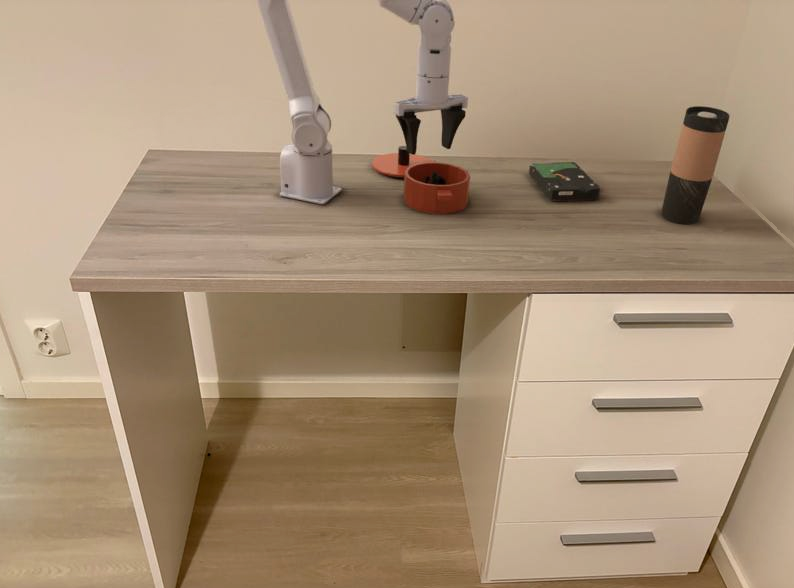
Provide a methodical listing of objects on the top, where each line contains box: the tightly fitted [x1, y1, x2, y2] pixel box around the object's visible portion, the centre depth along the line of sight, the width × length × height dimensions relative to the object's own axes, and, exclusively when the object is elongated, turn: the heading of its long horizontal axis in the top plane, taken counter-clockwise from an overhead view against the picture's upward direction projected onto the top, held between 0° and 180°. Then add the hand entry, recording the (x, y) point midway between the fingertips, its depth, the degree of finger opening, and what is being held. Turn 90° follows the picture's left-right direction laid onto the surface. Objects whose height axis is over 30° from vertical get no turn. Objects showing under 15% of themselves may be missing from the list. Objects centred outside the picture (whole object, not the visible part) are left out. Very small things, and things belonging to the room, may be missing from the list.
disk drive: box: [528, 161, 601, 202], centre depth 148 cm, size 10×3×15 cm
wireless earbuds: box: [425, 172, 446, 185], centre depth 138 cm, size 7×2×5 cm, turn 30°
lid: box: [371, 145, 433, 178], centre depth 152 cm, size 13×13×4 cm
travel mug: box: [660, 105, 730, 225], centre depth 134 cm, size 8×8×20 cm
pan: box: [403, 160, 471, 215], centre depth 138 cm, size 12×18×6 cm
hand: (428, 150), depth 135 cm, fingers open, 7 cm apart
